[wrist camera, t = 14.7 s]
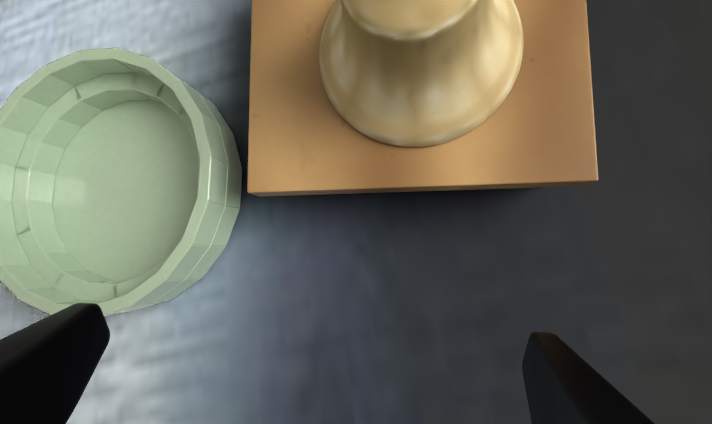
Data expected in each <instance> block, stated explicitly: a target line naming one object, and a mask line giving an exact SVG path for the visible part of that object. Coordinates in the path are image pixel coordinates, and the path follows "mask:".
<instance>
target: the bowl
mask: <svg viewBox="0 0 712 424" xmlns="http://www.w3.org/2000/svg"><path fill="white" fill-rule="evenodd" d="M241 184H242V167H241V163H240V159H239V155H238V151H237V146H236V142H235V138H234V134H233V133H232V131H231V129H230V128H229V126H228V125H227V123H226V122H225V120H224V119H223V117H222V115H221V114H220V112H219V111H218V109H217V108H216V106H215V105H214V103H212V102H211V101H210V100H208V99H207V98H206V97H204V96H203V95H202V94H200V93H199V92H198V91H197V90H195V89H194V88H193V87H191V86H190V85H189V84H187V83H186V82H184V81H183V80H182V79H180V78H179V77H177V76H176V75H175V74H173V73H172V72H170V71H169V70H167V69H166V68H165V67H163V66H162V65H160V64H159V63H158V62H156V61H155V60H153V59H151V58H150V57H146V56H143V55H139V54H136V53H133V52H129V51H126V50H122V49H119V48H108V49H93V50H81V51H77V52H75V53H72V54H70V55H68V56H65V57H63V58H60V59H58V60H56V61H53V62H51V63H48V64H46V65H45V66H43V67H42V68H41V69H39V70H38V71H37V72H36V73H35V74H33V75H32V76H31V77H30V78H28V79H27V80H26V81H25V82H23V83H22V84H21V85H20V86H19V87H17V88H16V90H14V92H13V93H12V94H11V96H10V97H9V98H8V100H7V101H6V103H5V104H4V105H3V107H2V108H1V110H0V280H1V282H2V283H3V284H4V285H5V286H6V287H7V288H8V289H9V290H10V291H11V292H12V293H13V294H14V295H15V296H16V297H17V298H18V299H19V300H20V301H22V302H24V303H27V304H29V305H31V306H33V307H35V308H37V309H39V310H41V311H43V312H45V313H48V314H50V315H52V314H54V313H56V312H59V311H61V310H63V309H65V308H67V307H69V306H71V305H73V304H75V303H81V302H82V303H95V304H98V305H99V306H100V307H101V309H102V312H103V315H104V316H109V315H114V314H120V313H125V312H130V311H136V310H140V309H144V308H147V307H150V306H154V305H157V304H160V303H163V302H167V301H170V300H172V299H174V298H175V297H177V296H178V295H179V294H181V293H182V292H184V291H185V290H186V289H188V288H189V287H191V286H192V285H193V284H195V283H196V282H197V281H199V280H200V279H202V277H204V275H205V274H206V273H207V271H208V270H209V269H210V267H211V266H212V265H213V263H214V262H215V261H216V259H217V258H218V257H219V255H220V254H221V253H222V251H223V250H224V249H225V247H226V245H227V243H228V240H229V237H230V235H231V232H232V229H233V227H234V224H235V221H236V218H237V216H238V213H239V210H240V201H241Z"/></svg>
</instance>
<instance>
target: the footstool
mask: <svg viewBox="0 0 712 424" xmlns="http://www.w3.org/2000/svg"><path fill="white" fill-rule="evenodd" d="M513 1H514V3H515V5H516V7H517V10H518V12H519V15H520V19H521V23H522V28H523V38H524V46H523V56H522V62H521V67H520V71H519V73H518V76H517V78H516V81H515V83H514V85H513V87H512V89H511V91H510V92H509V94H508V96H507V97H506V99H505V101H504V102H503V103H502V104H501V106H500V107H499V108H498V109H497V110H496V111H495V112H494V113H493V114H492V115H491V116H490V117H489V118H488V119H487V120H486V121H485V122H483V123H482V124H481V125H480V126H478V127H477V128H475V129H474V130H472V131H470V132H469V133H467V134H465V135H463V136H461V137H459V138H457V139H454V140H451V141H449V142H446V143H443V144H438V145H434V146H427V147H401V146H394V145H390V144H386V143H381V142H379V141H376V140H373V139H372V138H369V137H368V136H366V135H364V134H362V133H361V132H359V131H358V130H356V129H355V128H353V127H352V126H351V125H350V124H349V123H348V122H347V121H346V120H345V119H344V118H343V117H342V116H341V115H340V114H339V113H338V112H337V110H336V109H335V108H334V106H333V104H332V103H331V101H330V99H329V98H328V96H327V93H326V91H325V89H324V86H323V82H322V78H321V73H320V67H319V46H320V40H321V35H322V31H323V28H324V25H325V22H326V20H327V17H328V15H329V13H330V11H331V9H332V7H333V5H334V4H335V2H336V0H252V17H251V58H250V99H249V140H248V181H247V192H248V193H250V194H253V195H256V196H290V195H322V194H353V193H384V192H415V191H446V190H477V189H509V188H540V187H571V186H587V185H590V184H592V183H594V182H596V181H598V166H597V151H596V137H595V122H594V107H593V93H592V78H591V64H590V49H589V34H588V20H587V5H586V0H513Z"/></svg>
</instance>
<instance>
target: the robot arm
mask: <svg viewBox="0 0 712 424" xmlns="http://www.w3.org/2000/svg"><path fill="white" fill-rule="evenodd" d="M109 339H110V331H109V328H108V325H107V323H106V320H105V317H104V315H103V312H102V309H101V307H100V306H99V305H98V304H95V303H82V302H81V303H75V304H73V305H71V306H69V307H67V308H65V309H63V310H61V311H59V312H56V313H54V314H52V315H50V316H48V317H46V318H44V319H42V320H40V321H38V322H36V323H34V324H32V325H30V326H28V327H26V328H24V329H22V330H20V331H17V332H15V333H13V334H11V335H9V336H7V337H5V338H3V339H1V340H0V424H66V422H67V421H68V419H69V417H70V416H71V414H72V412H73V411H74V409H75V407H76V405H77V403H78V401H79V400H80V398H81V396H82V394H83V392H84V390H85V388H86V386H87V384H88V382H89V380H90V378H91V376H92V374H93V372H94V370H95V368H96V366H97V364H98V362H99V360H100V358H101V356H102V354H103V353H104V351H105V349H106V347H107V345H108V342H109ZM522 370H523V377H524V383H525V388H526V393H527V399H528V404H529V410H530V415H531V421H532V424H654V423H653V422H652V421H651V420H650V419H649V418H648V417H647V416H646V415H644V414H643V413H642V412H641V411H640V410H639V409H638V408H637V407H635V406H634V405H633V404H632V403H631V402H630V401H629V400H628V399H627V398H625V397H624V396H623V395H622V394H621V393H620V392H619V391H618V390H617V389H615V388H614V387H613V386H612V385H611V384H610V383H609V382H608V381H607V380H605V379H604V378H603V377H602V376H601V375H600V374H599V373H598V372H597V371H595V370H594V369H593V368H592V367H591V366H590V365H589V364H588V363H587V362H585V361H584V360H583V359H582V358H581V357H580V356H579V355H578V354H577V353H575V352H574V351H573V350H572V349H571V348H570V347H569V346H568V345H566V344H565V343H564V342H563V341H562V340H561V339H560V338H559V337H558V336H556V335H555V334H553V333H544V332H533V333H531V335H530V337H529V340H528V344H527V347H526V351H525V355H524V359H523V364H522Z"/></svg>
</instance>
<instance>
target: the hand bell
mask: <svg viewBox="0 0 712 424" xmlns="http://www.w3.org/2000/svg"><path fill="white" fill-rule="evenodd" d="M523 46H524V38H523V28H522V23H521V19H520V15H519V12H518V10H517V7H516V5H515V3H514V1H513V0H336V2H335V4H334V5H333V7H332V9H331V11H330V13H329V15H328V17H327V20H326V22H325V25H324V28H323V31H322V35H321V40H320V46H319V67H320V73H321V78H322V82H323V86H324V89H325V91H326V93H327V96H328V98H329V99H330V101H331V103H332V104H333V106H334V108H335V109H336V110H337V112H338V113H339V114H340V115H341V116H342V117H343V118H344V119H345V120H346V121H347V122H348V123H349V124H350V125H351V126H352V127H353V128H355V129H356V130H358V131H359V132H361V133H362V134H364V135H366V136H368V137H369V138H372V139H373V140H376V141H379V142H381V143H386V144H390V145H394V146H401V147H427V146H434V145H438V144H443V143H446V142H449V141H451V140H454V139H457V138H459V137H461V136H463V135H465V134H467V133H469V132H470V131H472V130H474V129H475V128H477V127H478V126H480V125H481V124H482V123H483V122H485V121H486V120H487V119H488V118H489V117H490V116H491V115H492V114H493V113H494V112H495V111H496V110H497V109H498V108H499V107H500V106H501V104H502V103H503V102H504V101H505V99H506V97H507V96H508V94H509V92H510V91H511V89H512V87H513V85H514V83H515V81H516V78H517V76H518V73H519V71H520V67H521V62H522V56H523Z"/></svg>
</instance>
